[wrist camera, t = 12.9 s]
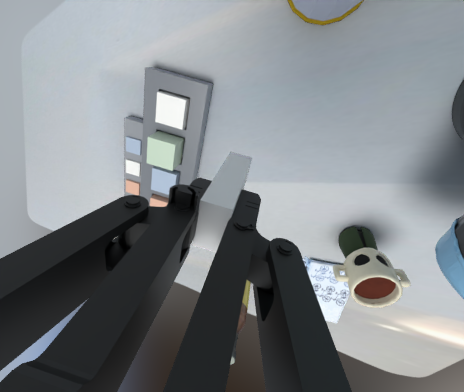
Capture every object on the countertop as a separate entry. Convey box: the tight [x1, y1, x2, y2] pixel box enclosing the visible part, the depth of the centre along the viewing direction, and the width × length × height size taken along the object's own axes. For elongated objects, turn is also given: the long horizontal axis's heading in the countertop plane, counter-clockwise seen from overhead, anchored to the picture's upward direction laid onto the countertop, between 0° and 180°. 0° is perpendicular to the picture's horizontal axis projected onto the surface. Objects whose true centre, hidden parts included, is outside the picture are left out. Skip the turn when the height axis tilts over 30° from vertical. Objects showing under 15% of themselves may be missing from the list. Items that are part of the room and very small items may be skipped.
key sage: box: [147, 131, 184, 171], centre depth 41 cm, size 5×5×4 cm
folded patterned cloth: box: [302, 256, 350, 323], centre depth 56 cm, size 19×20×2 cm
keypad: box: [124, 67, 213, 206], centre depth 47 cm, size 14×36×3 cm, turn 167°
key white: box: [155, 90, 191, 130], centre depth 40 cm, size 5×5×4 cm
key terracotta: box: [150, 194, 169, 207], centre depth 50 cm, size 5×5×4 cm
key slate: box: [151, 166, 181, 195], centre depth 46 cm, size 5×5×4 cm
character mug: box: [333, 227, 411, 308], centre depth 42 cm, size 11×7×13 cm, turn 95°
